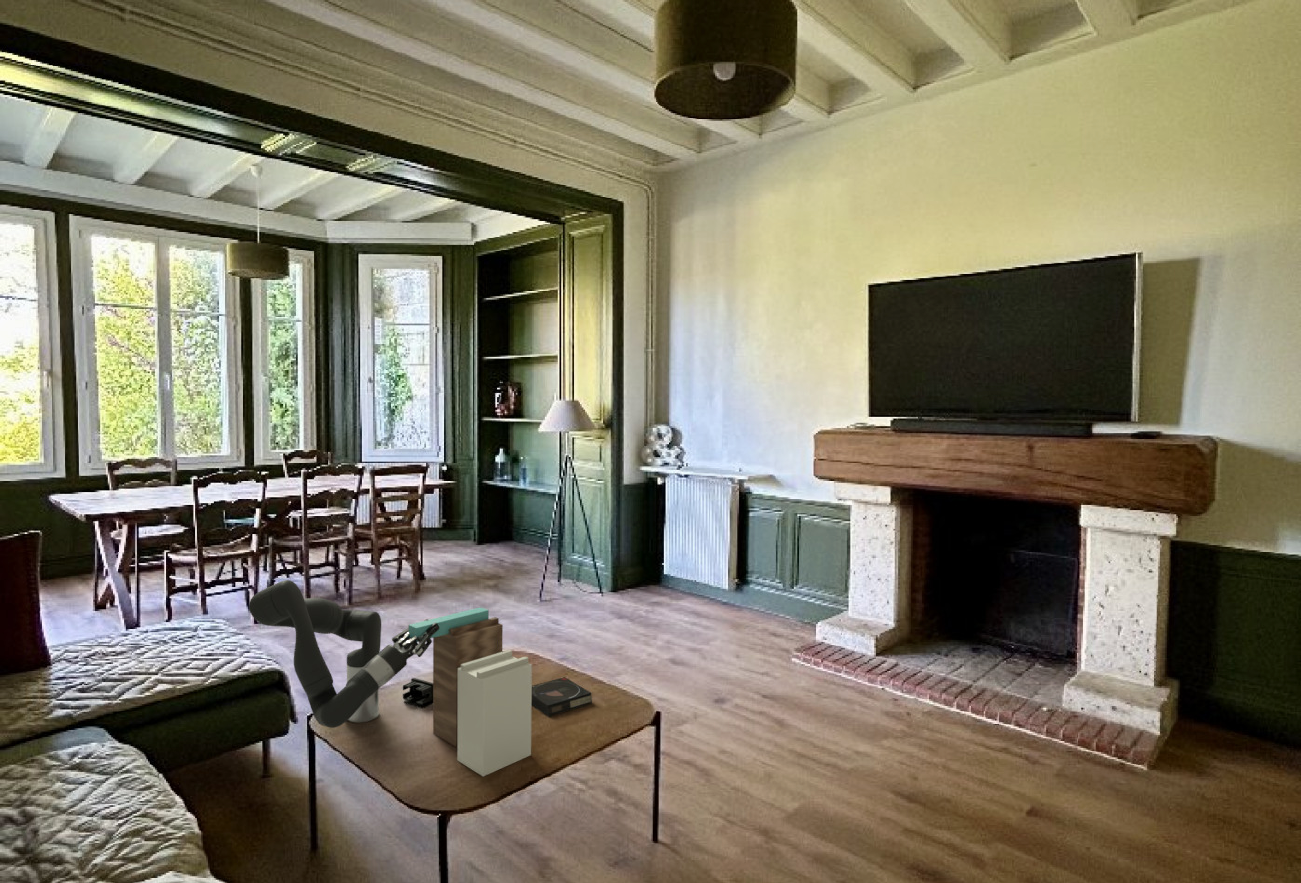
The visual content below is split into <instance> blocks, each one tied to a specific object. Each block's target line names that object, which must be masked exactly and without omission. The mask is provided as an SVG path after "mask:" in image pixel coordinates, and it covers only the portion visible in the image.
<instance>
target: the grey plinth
mask: <svg viewBox="0 0 1301 883" xmlns="http://www.w3.org/2000/svg"><path fill="white" fill-rule="evenodd" d="M532 670H533V664H531V663H529V657H528V656H521V657H519V658H517V657H515V656H513V651H512V650H511V649H507V650H502V652H500V653H497V654H493V655H490V656H487V657H483V658H480V659H477V660H474V661H470V662H467V663H464V664H461V667H460V668H458V746H457V751H456V753H457V757H456V758H457V760H456V761H458V762H459V763H461V764H463V765H464V766H466V767H467V768H468V769H470V770H472V771H473V772H475V773H477V774H478V775H479V776H481V777H485V776H487V775H490V774H492V773H494V772H496V771H498V770H500V769H501V770H502V769H503V768H505V767H507V766H510V765H512V764H514V763H516V762H519V761H521V760H524V759H525V758H527V757H530V756H532V705H531V699H532V686H533V684H532V683H533V681H532V678H533V676H532V674H533V673H532V672H533V671H532Z"/></svg>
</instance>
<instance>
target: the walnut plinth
mask: <svg viewBox="0 0 1301 883" xmlns="http://www.w3.org/2000/svg"><path fill="white" fill-rule="evenodd" d="M499 620H500V619H499V618H498V617H496V616H495V617H491V618H489V619H487V620H483V621H479V622H475V623H471V624H467V625H463V626H460V627H456V628H452V629H449V634H446V635H442V636H438V637H434V638H432V639H433V640H432V644H433V645H432V647H433V648H432V652H433V653H432V655H433V656H432V660H433V661H432V663H433V664H432V666H433V667H432V671H433V672H432V677H433V678H432V683H433V704H432V712H433V713H432V723H433V725H432V729H433V730H432V732H433V734H434V735H435V736H437V737H439V738H440V739H442V740H444V741H445V742H447V743H449V744H450V745H452V746H454V748H458V668H460V667H461V664H464V663H467V662H470V661H474V660H477V659H480V658H483V657H487V656H490V655H493V654H497V653H500V652H503V629H504V627H503V624H502V623H499V622H500V621H499Z"/></svg>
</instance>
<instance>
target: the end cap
mask: <svg viewBox="0 0 1301 883" xmlns="http://www.w3.org/2000/svg"><path fill="white" fill-rule="evenodd" d="M407 689H409V690H408V691H406V692H403V693H402V699H403V703H404V704H405V703H406V704H405V705H410V706H413V707H415V708H419V709H422V710H423V709H427V707H430V706H433V682H430V681H426V680H423V679H420V678H416V677H412V678H411V679H410V682H408V683H405V684H403V685H402V691H405V690H407Z"/></svg>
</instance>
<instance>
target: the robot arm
mask: <svg viewBox="0 0 1301 883" xmlns="http://www.w3.org/2000/svg"><path fill="white" fill-rule="evenodd" d="M248 604H249V605H248V610H249V613H250V615H251V616H252V617H253V619H254V620H255V621H257V623H260V624H261V625H264V626H268V627H287V628H292V629H293V628H294V630H295V631H294V632H295V641H294V644H295V645H294V652H293V667H294V672H295V674H296V676H297V678H298V680H299V683H300V685H301V687H302V689H303V691H304V692H305V695H306V697H307V700H308V704H309V707H310V709H311V712H312V714H313V716H314V719H315V721H316V722H317V723H318V724H319V725H320V726H323V727H326V728H330V729H331V728H333V729H335V728H338V727H341V726H342V725H343V724H345V723H346V722H347V721H349V722H352V723H365V722H369V721H372V720H374V719H376V718H377V717H379V714H380V688H382V687H383V686H384V685H386V684H387V683H389V681H391V680H392V679H393V678H394V677H396V675H397V674H398V673H400V671H402V670H403V669H404V668H405V667H406V666H407V663H408V662H407V661H408V659H410V658H412V657H413V656H414V655H417V657H418V658H421V657H422V656H423V655H424V653H425V652H426V650H427V649H428V648H429V647H430V646H431V644H433V640H432V638H430V637H431V636H432V635H433V634H434V633H435V632H437V631H438V630H439V628H440V627H439V625H438V624H437V623H433V624H432V625H431V626H430V627H429V628H428V629H427V630H426V631H425V632H423V633H422V634H421V635H420V636H415V637H413V638H411V637H409V636H410V635H409V627H407V628H406V629H404V630H403V631H401V632H399V633H398V634H396V635H395V636H393V637H392V638H391V642H393V644H388V645H386V646H385V647H384V648H383V649H381V637H382V619H381V615H380V613H379V612H377V611H373V610H363V609H362V610H360V609H359V610H358V609H351V610H350V609H342V607H341V606H340V605H339V604H338V603H336V602H335V601H332V600H329V599H325V598H322V597H321V598H319V597H310V598H309V597H308V598H304V596H303V592H302V590H301V589H300V588H299V586H298V584H296V582H294V581H292V580H289V579H284V580H282V581H279V582H276V583H275V584H273V585H271V586H268V587H266V588H264V589H262V590H260V591H258V592H257V593H255V594H254V595H253V596H252V597H251V598H250V600H249V603H248ZM427 620H429V619H424V620H423V621H427ZM316 633H317V634H320V635H321V634H323V635H328V634H333V635H335V636H338V637H340V638H342V639H344V640H346V641H350V642H351V641H352V642H361V647H360V648H357V649H354V650H352V651H351V652H349V653H348V654H347V656H346V684H345V687H343V688H342V689H341V690H340V691H339V692H337V691H336V690H335V687H334V678H333V676H332V674H331V671H330V669H329V667H328V664H327V663H326V660H325V659H324V657H323V655H322V652H321V650H320V647H319V645H318V641H317V637H316V635H315V634H316ZM422 637H423V639H422V640H421V638H422ZM416 640H418V642H416Z"/></svg>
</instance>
